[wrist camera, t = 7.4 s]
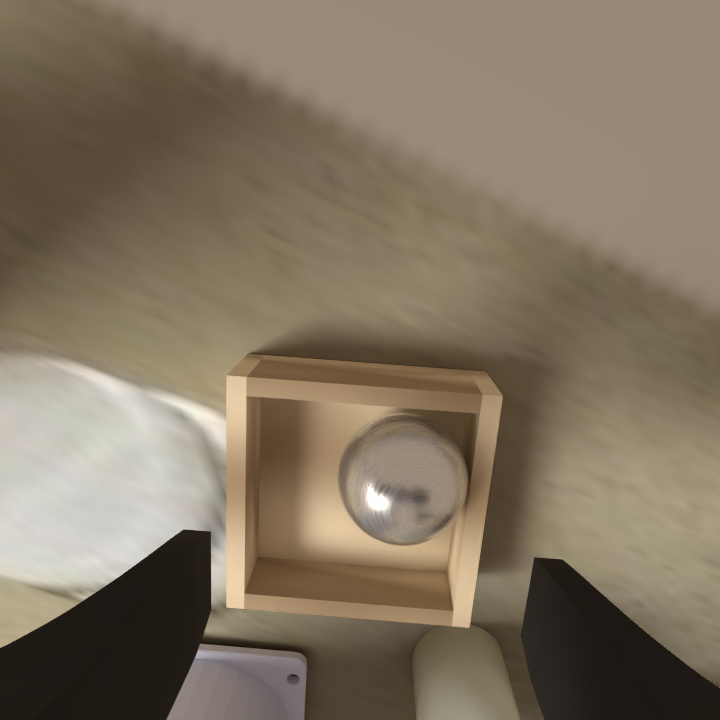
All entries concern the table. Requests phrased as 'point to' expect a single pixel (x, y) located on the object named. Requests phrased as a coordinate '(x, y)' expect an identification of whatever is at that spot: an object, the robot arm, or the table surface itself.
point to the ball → (402, 479)
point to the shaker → (461, 676)
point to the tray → (321, 494)
